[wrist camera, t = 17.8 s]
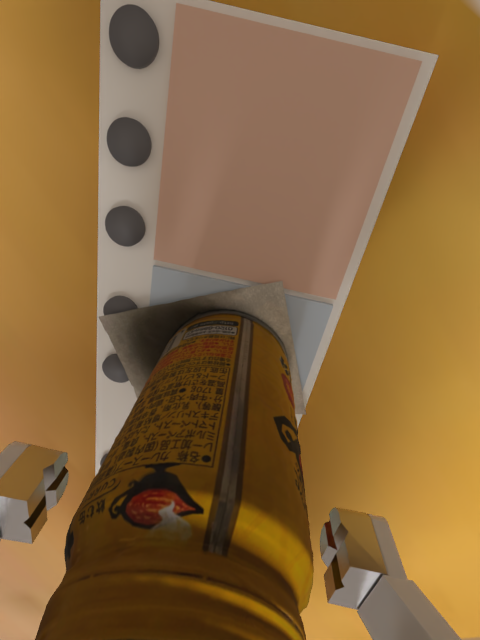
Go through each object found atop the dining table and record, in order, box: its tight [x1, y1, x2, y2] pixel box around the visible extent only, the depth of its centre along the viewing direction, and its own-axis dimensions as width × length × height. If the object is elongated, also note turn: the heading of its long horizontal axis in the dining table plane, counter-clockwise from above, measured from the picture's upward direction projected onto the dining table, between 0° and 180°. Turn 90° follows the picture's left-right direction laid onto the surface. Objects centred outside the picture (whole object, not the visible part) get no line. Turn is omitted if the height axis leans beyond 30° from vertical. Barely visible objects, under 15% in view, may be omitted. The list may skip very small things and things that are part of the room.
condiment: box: [35, 281, 314, 640], centre depth 11 cm, size 7×8×12 cm
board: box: [95, 0, 439, 476], centre depth 16 cm, size 26×11×1 cm, turn 168°
